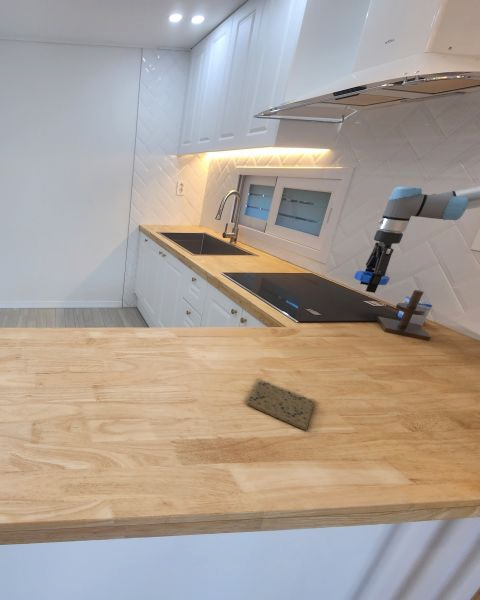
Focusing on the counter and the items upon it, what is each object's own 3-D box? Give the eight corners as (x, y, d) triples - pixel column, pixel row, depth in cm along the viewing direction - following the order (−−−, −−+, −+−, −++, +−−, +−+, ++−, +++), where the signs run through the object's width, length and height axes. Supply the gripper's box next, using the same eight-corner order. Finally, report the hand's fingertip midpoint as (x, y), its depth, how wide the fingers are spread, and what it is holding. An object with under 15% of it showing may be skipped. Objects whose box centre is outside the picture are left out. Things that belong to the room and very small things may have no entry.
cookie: (245, 404, 77) (246, 401, 76) (259, 381, 85) (260, 378, 85) (306, 431, 70) (307, 427, 69) (314, 403, 78) (315, 400, 78)
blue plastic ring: (383, 280, 132) (385, 274, 131) (389, 286, 124) (392, 280, 123) (352, 274, 136) (354, 269, 136) (356, 281, 128) (359, 275, 127)
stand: (416, 328, 124) (435, 290, 118) (428, 341, 114) (449, 300, 108) (376, 319, 129) (392, 282, 123) (384, 331, 119) (401, 292, 113)
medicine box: (396, 315, 134) (405, 295, 131) (409, 317, 133) (419, 297, 130) (408, 324, 127) (418, 303, 123) (422, 326, 126) (433, 304, 122)
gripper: (370, 226, 134) (350, 278, 142) (385, 234, 115) (361, 294, 124) (394, 228, 131) (372, 282, 139) (413, 237, 112) (386, 298, 120)
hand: (367, 288), depth 131 cm, fingers closed on blue plastic ring, 10 cm apart
